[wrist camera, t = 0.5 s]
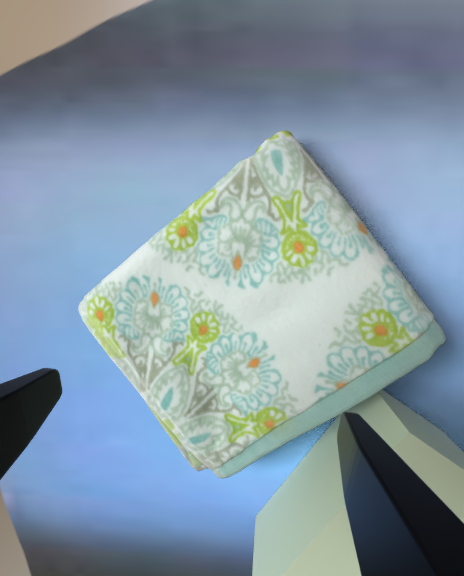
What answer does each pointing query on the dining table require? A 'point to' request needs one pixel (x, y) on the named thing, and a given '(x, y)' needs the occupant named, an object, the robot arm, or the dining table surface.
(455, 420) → the dining table surface
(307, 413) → the towel
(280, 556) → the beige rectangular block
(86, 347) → the dining table surface
